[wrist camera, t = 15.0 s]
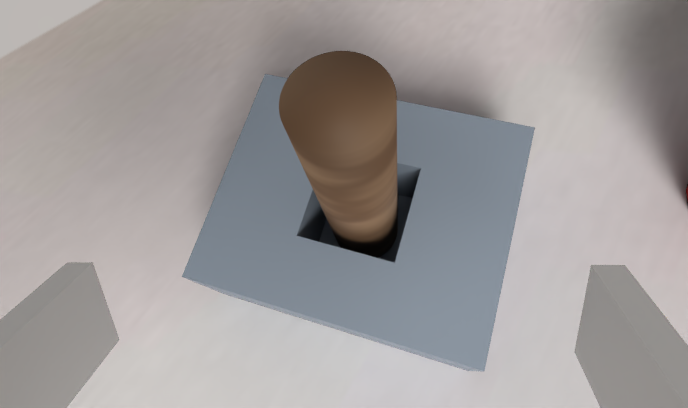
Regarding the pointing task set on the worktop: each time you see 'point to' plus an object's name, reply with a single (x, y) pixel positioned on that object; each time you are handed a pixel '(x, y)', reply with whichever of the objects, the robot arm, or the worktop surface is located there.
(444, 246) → the bore block
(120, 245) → the worktop surface
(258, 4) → the worktop surface
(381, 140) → the walnut peg
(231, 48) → the worktop surface
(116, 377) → the worktop surface
